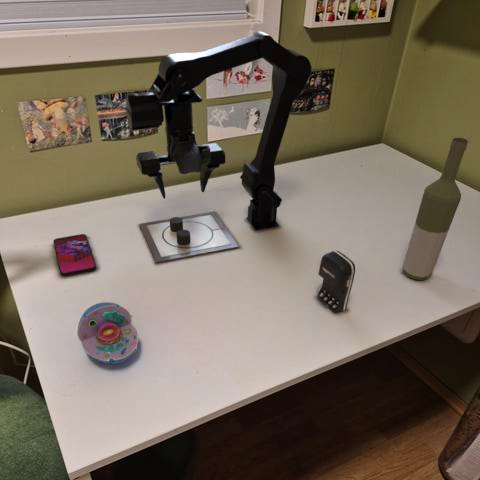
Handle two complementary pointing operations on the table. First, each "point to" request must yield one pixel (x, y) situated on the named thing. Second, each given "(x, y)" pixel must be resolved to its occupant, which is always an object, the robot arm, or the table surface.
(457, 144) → the bottle
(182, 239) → the dot
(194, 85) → the robot arm
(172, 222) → the dot
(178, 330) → the table surface
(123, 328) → the cell model
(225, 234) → the board
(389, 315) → the table surface
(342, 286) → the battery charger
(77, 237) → the smartphone
